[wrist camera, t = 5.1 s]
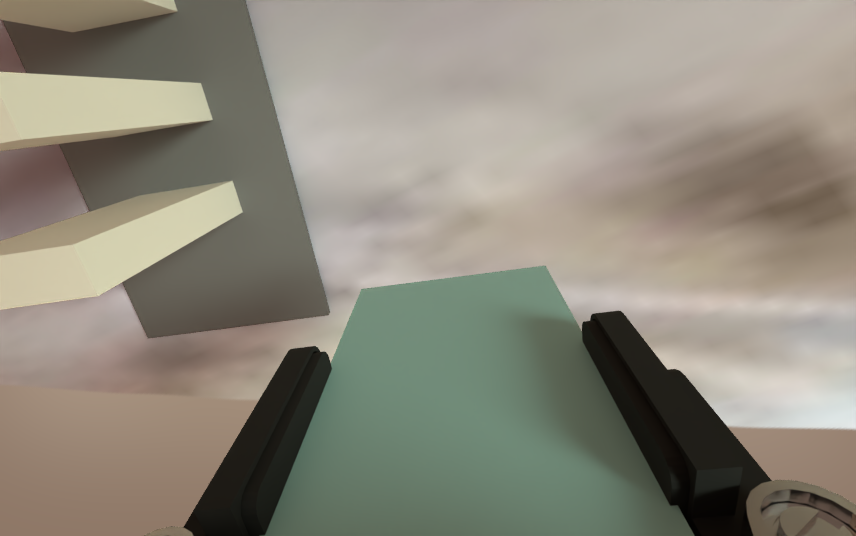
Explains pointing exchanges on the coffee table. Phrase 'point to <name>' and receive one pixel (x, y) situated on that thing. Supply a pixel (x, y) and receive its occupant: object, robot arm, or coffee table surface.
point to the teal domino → (469, 423)
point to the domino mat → (195, 165)
